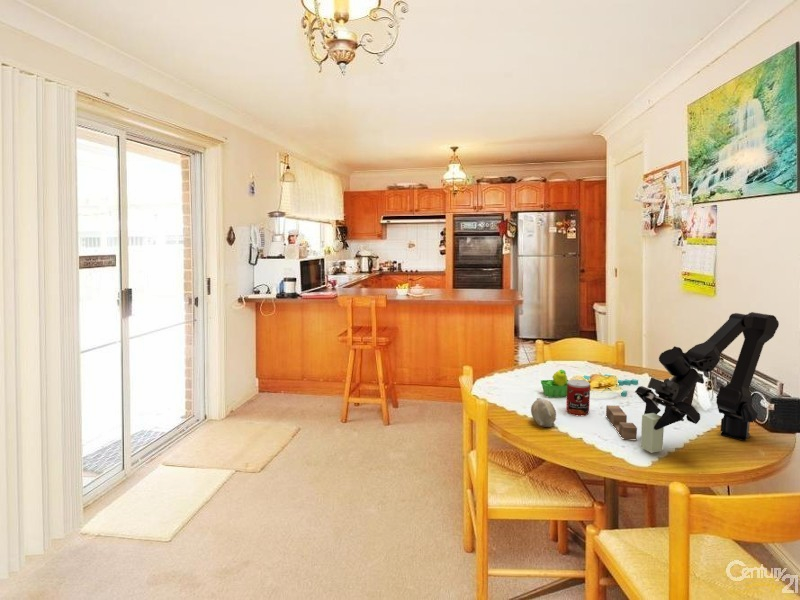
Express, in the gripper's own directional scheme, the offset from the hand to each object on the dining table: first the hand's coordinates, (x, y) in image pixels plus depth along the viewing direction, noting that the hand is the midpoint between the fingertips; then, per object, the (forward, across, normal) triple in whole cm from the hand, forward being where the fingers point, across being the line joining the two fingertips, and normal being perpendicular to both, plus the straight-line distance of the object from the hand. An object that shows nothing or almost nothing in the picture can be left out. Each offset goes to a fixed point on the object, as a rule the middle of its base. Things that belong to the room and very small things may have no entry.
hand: (648, 426), depth 138 cm
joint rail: (+2, -17, +10) cm, 20 cm away
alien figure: (-16, -54, +28) cm, 63 cm away
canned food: (+5, -33, +7) cm, 34 cm away
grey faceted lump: (+17, -28, -6) cm, 34 cm away
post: (+4, 0, +6) cm, 7 cm away
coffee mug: (-22, -26, +34) cm, 48 cm away
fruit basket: (+2, -50, +10) cm, 51 cm away
